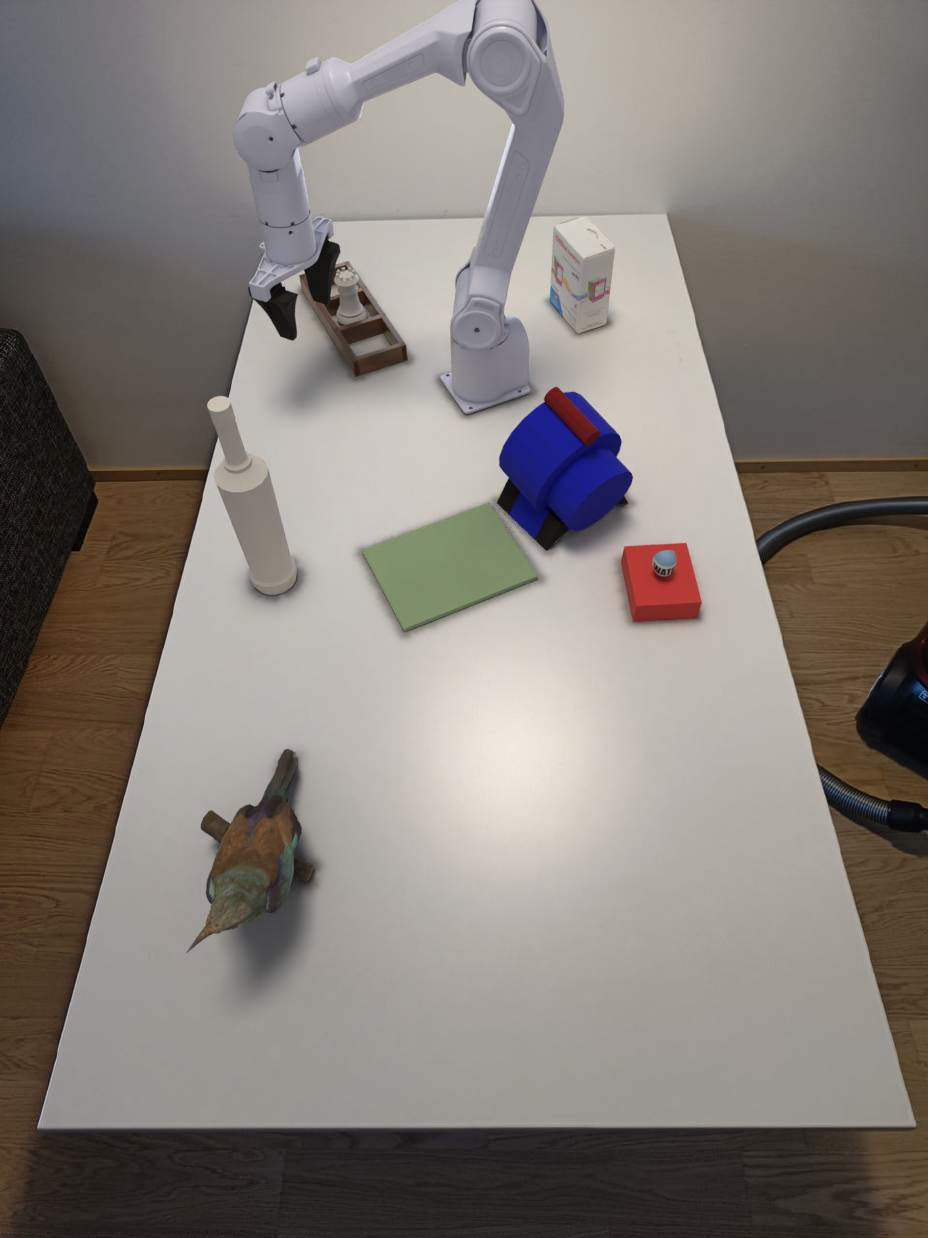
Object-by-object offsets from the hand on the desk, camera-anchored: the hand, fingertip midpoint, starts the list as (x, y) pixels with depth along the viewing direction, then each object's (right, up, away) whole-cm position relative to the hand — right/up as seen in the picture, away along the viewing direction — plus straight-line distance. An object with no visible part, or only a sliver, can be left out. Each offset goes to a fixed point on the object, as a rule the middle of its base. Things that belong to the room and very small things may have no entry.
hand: (305, 318), depth 108 cm
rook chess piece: (+4, +4, +15) cm, 17 cm away
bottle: (-2, -32, -10) cm, 34 cm away
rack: (+4, +5, +15) cm, 16 cm away
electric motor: (+31, -24, -5) cm, 40 cm away
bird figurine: (+1, -59, -28) cm, 65 cm away
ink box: (+35, +6, +16) cm, 39 cm away
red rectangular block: (+40, -34, -12) cm, 54 cm away
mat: (+18, -31, -10) cm, 37 cm away
